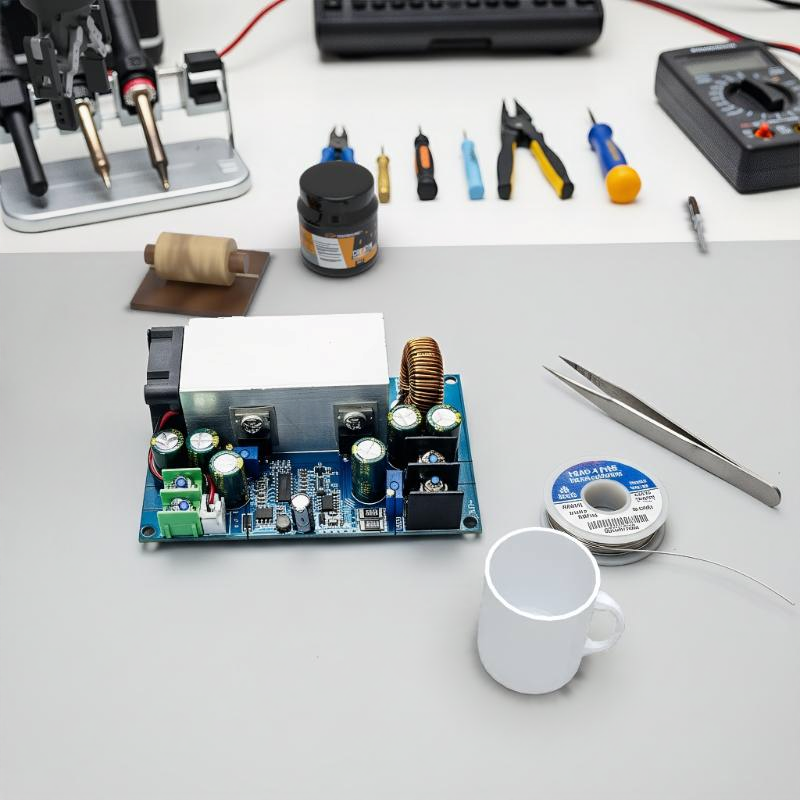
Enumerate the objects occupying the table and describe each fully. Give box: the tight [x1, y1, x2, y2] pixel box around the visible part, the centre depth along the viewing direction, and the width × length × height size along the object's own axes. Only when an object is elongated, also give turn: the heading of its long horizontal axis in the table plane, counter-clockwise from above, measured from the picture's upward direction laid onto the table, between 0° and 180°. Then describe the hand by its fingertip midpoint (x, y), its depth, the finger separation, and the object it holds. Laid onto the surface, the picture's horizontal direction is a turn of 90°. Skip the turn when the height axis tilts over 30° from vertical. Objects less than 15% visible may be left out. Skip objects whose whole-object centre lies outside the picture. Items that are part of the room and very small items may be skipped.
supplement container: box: [296, 160, 380, 278], centre depth 129 cm, size 10×10×12 cm
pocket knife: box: [687, 195, 706, 251], centre depth 139 cm, size 14×1×2 cm, turn 177°
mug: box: [476, 526, 626, 695], centre depth 85 cm, size 10×12×12 cm
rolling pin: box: [143, 231, 249, 286], centre depth 126 cm, size 13×6×6 cm, turn 81°
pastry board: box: [129, 248, 271, 318], centre depth 129 cm, size 15×14×1 cm
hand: (85, 109), depth 105 cm, fingers open, 8 cm apart
